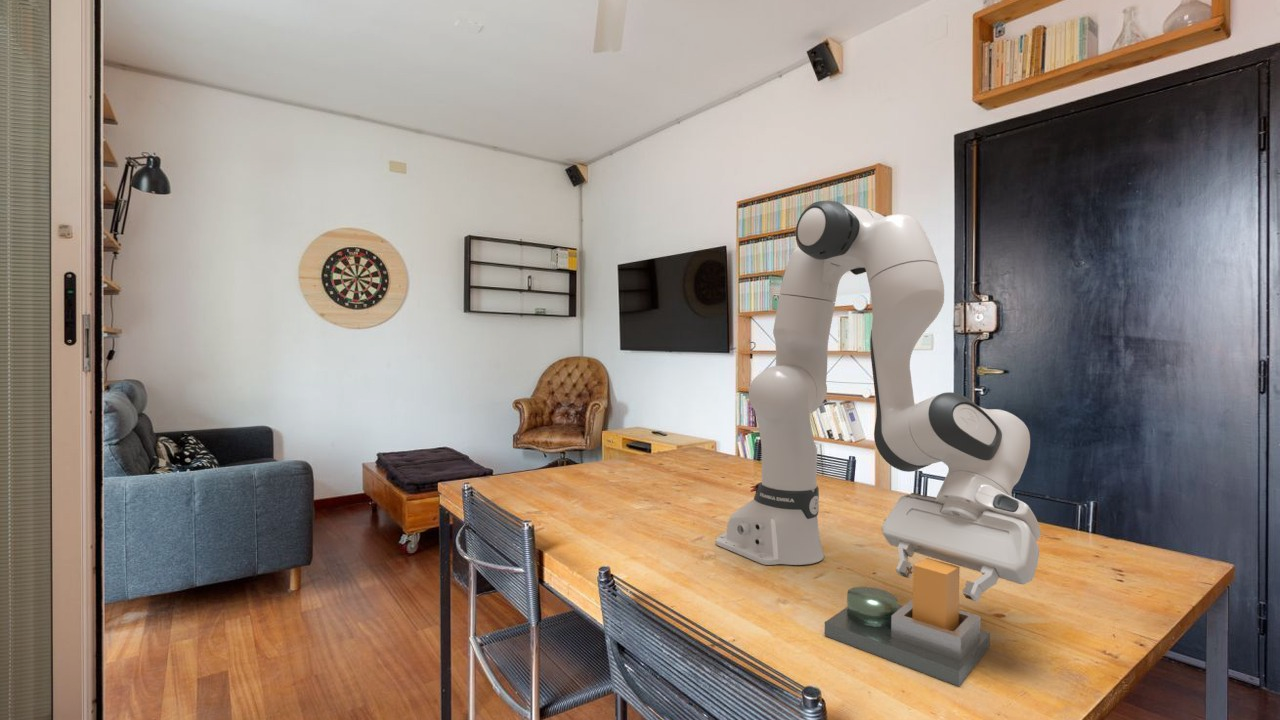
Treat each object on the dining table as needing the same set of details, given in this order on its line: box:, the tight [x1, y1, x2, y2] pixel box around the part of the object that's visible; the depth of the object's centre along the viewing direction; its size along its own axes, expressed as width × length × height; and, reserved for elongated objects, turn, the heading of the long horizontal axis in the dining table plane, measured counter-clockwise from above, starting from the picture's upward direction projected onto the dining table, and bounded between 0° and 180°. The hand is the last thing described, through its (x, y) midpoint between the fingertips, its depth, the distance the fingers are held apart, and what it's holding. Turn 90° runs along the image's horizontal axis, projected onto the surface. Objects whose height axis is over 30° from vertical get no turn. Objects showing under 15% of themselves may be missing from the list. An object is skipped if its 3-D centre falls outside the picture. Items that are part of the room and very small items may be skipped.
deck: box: [824, 586, 991, 687], centre depth 83 cm, size 18×14×5 cm
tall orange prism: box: [912, 557, 961, 632], centre depth 81 cm, size 4×4×10 cm
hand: (934, 585), depth 80 cm, fingers open, 8 cm apart
